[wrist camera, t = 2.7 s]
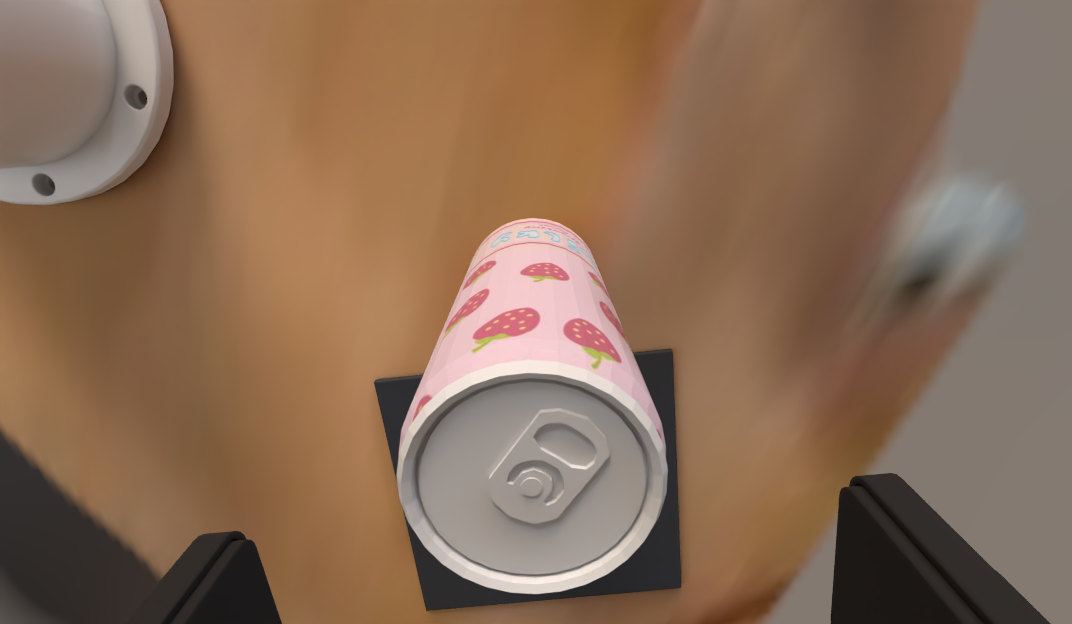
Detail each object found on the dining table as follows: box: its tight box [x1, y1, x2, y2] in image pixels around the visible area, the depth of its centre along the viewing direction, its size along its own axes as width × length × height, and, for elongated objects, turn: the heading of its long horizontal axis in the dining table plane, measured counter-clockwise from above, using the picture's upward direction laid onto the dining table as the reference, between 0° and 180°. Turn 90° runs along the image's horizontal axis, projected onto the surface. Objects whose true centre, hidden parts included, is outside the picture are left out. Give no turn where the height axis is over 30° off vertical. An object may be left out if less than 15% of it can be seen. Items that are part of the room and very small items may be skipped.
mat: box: [374, 349, 681, 611], centre depth 28 cm, size 14×14×1 cm
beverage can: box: [396, 218, 668, 594], centre depth 18 cm, size 6×6×15 cm
